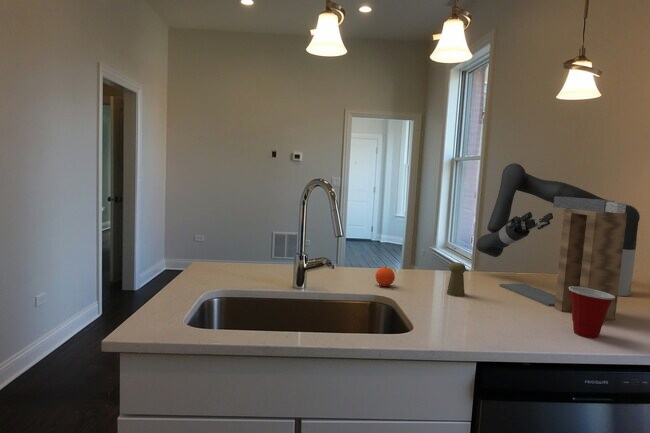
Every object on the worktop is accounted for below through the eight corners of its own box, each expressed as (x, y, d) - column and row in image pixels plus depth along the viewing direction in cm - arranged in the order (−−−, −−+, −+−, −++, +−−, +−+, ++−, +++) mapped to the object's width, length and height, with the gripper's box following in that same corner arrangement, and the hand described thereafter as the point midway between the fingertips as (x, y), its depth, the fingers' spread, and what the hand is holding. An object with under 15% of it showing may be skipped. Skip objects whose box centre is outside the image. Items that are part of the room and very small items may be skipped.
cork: (467, 294, 154) (470, 263, 153) (459, 297, 150) (462, 265, 149) (451, 290, 159) (454, 260, 158) (443, 293, 154) (445, 262, 153)
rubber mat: (524, 285, 172) (524, 283, 172) (576, 305, 147) (577, 303, 147) (499, 285, 170) (499, 283, 170) (548, 306, 145) (548, 303, 144)
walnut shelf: (583, 307, 145) (593, 209, 142) (614, 319, 133) (626, 213, 130) (554, 308, 142) (564, 208, 139) (584, 321, 131) (595, 212, 128)
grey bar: (562, 207, 150) (563, 196, 149) (625, 214, 126) (627, 201, 126) (553, 206, 149) (554, 196, 148) (615, 213, 126) (617, 201, 125)
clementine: (391, 283, 166) (392, 264, 165) (400, 287, 159) (401, 268, 159) (371, 283, 163) (372, 264, 163) (379, 288, 157) (381, 268, 156)
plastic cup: (620, 342, 114) (626, 296, 113) (580, 341, 113) (585, 295, 112) (592, 327, 125) (596, 285, 124) (555, 326, 124) (559, 284, 123)
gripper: (495, 222, 171) (521, 204, 156) (527, 223, 174) (555, 205, 160) (499, 240, 168) (526, 224, 153) (532, 241, 171) (561, 225, 157)
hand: (541, 214), depth 156 cm, fingers open, 8 cm apart
